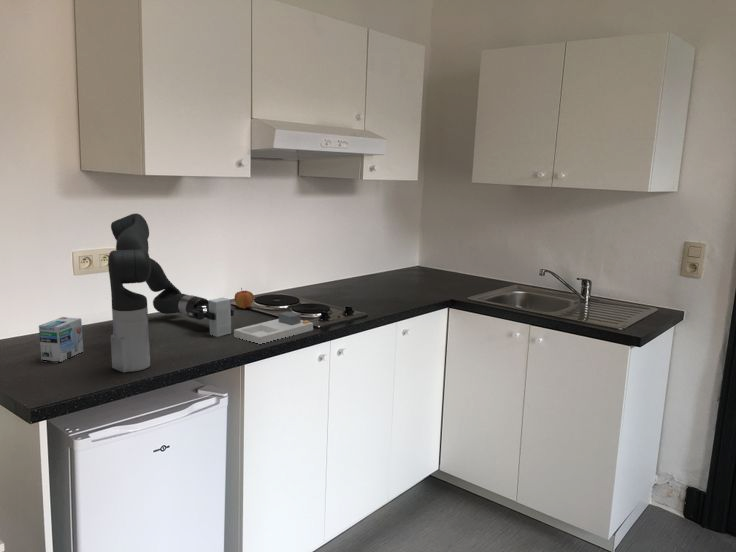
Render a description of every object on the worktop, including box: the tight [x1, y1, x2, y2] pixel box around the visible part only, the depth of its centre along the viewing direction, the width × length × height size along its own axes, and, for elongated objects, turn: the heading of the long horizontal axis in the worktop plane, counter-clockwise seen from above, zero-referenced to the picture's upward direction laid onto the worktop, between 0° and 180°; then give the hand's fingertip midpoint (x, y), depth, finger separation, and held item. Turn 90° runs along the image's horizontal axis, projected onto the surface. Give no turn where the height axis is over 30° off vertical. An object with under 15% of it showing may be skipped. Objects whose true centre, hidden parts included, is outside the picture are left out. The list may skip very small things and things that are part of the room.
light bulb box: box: [38, 316, 84, 362], centre depth 182 cm, size 11×7×11 cm, turn 170°
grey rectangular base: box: [233, 311, 314, 345], centre depth 211 cm, size 24×13×6 cm, turn 140°
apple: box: [234, 287, 254, 310], centre depth 245 cm, size 7×7×8 cm
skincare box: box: [208, 297, 232, 338], centre depth 208 cm, size 6×4×12 cm
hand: (224, 315), depth 206 cm, fingers open, 7 cm apart
